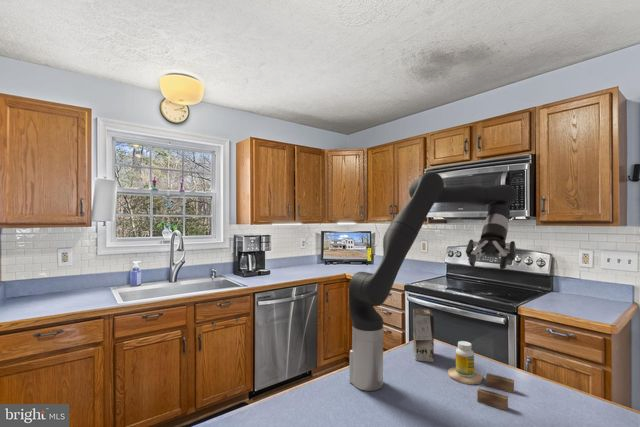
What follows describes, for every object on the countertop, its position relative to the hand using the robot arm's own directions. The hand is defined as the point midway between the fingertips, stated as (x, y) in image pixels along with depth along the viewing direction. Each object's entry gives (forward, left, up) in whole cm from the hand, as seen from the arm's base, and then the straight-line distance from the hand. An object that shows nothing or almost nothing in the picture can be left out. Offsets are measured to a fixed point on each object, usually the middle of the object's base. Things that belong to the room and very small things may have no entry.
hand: (486, 267), depth 105 cm
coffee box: (-21, +3, -35) cm, 41 cm away
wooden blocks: (+5, -11, -35) cm, 37 cm away
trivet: (-5, -4, -35) cm, 35 cm away
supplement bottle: (-6, -4, -34) cm, 35 cm away
